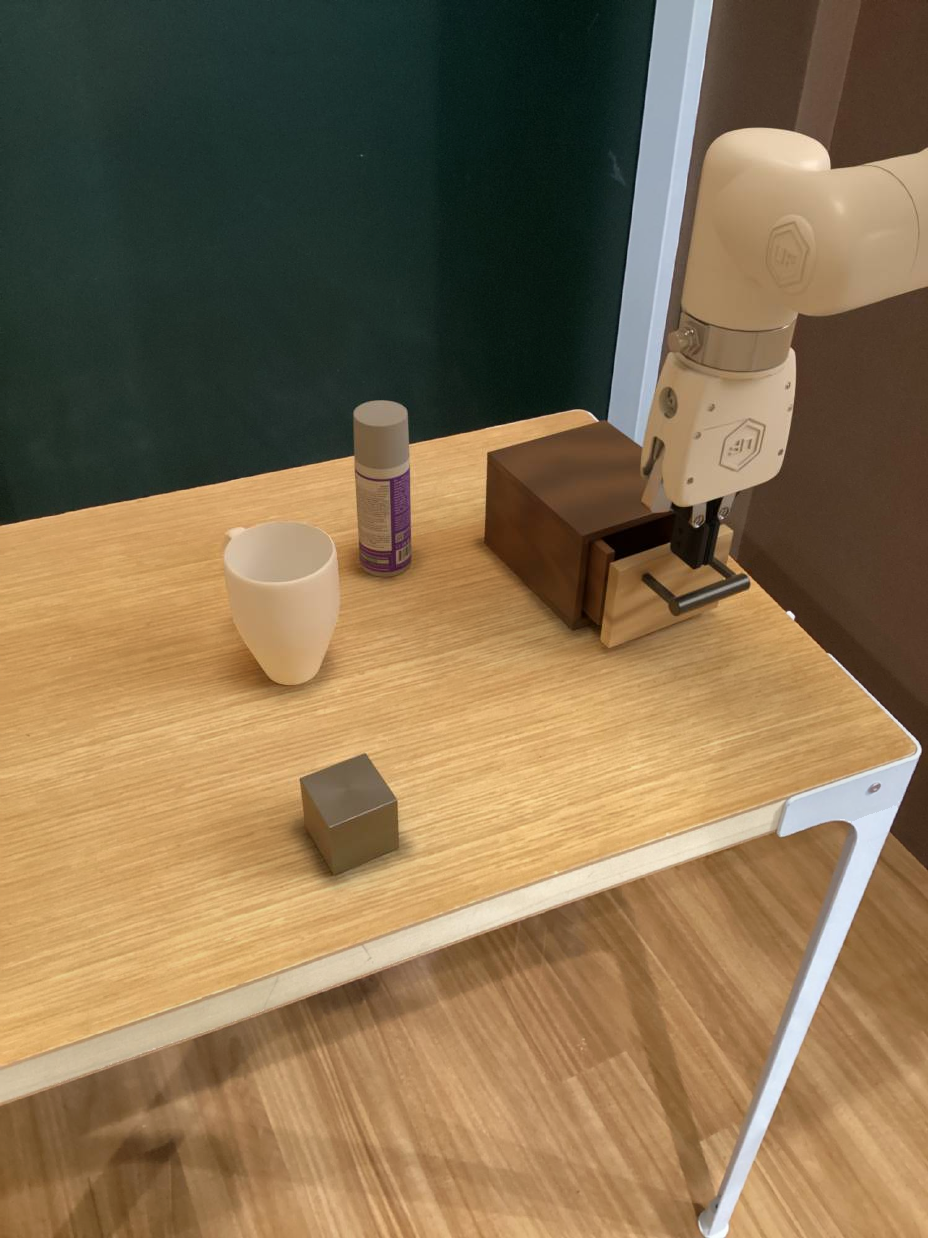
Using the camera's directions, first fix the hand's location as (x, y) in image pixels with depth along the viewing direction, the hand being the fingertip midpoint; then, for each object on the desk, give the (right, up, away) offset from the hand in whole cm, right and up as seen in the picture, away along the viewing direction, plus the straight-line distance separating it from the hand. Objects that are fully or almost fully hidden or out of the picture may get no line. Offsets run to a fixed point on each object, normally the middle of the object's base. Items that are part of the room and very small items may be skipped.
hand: (690, 557), depth 82 cm
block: (-25, -19, -10) cm, 33 cm away
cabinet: (-7, 0, +14) cm, 16 cm away
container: (-25, 0, +14) cm, 28 cm away
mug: (-32, -8, +4) cm, 34 cm away
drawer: (-3, -3, +9) cm, 10 cm away
